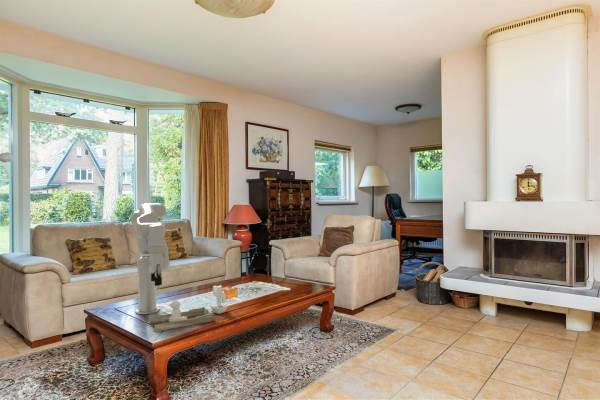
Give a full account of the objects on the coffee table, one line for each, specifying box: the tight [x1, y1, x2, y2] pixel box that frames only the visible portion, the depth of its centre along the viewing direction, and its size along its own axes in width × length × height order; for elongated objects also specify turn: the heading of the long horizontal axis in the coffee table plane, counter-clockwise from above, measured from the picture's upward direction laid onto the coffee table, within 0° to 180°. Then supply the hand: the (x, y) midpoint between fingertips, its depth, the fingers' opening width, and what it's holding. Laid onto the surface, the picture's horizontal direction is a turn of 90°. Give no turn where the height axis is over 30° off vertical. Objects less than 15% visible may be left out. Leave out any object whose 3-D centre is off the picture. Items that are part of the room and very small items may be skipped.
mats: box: [149, 321, 164, 331], centre depth 187 cm, size 11×6×1 cm, turn 33°
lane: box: [148, 306, 214, 333], centre depth 193 cm, size 14×30×4 cm, turn 123°
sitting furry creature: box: [168, 300, 188, 323], centre depth 192 cm, size 10×9×12 cm
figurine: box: [209, 284, 229, 315], centre depth 210 cm, size 7×9×15 cm
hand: (156, 283), depth 185 cm, fingers open, 9 cm apart
